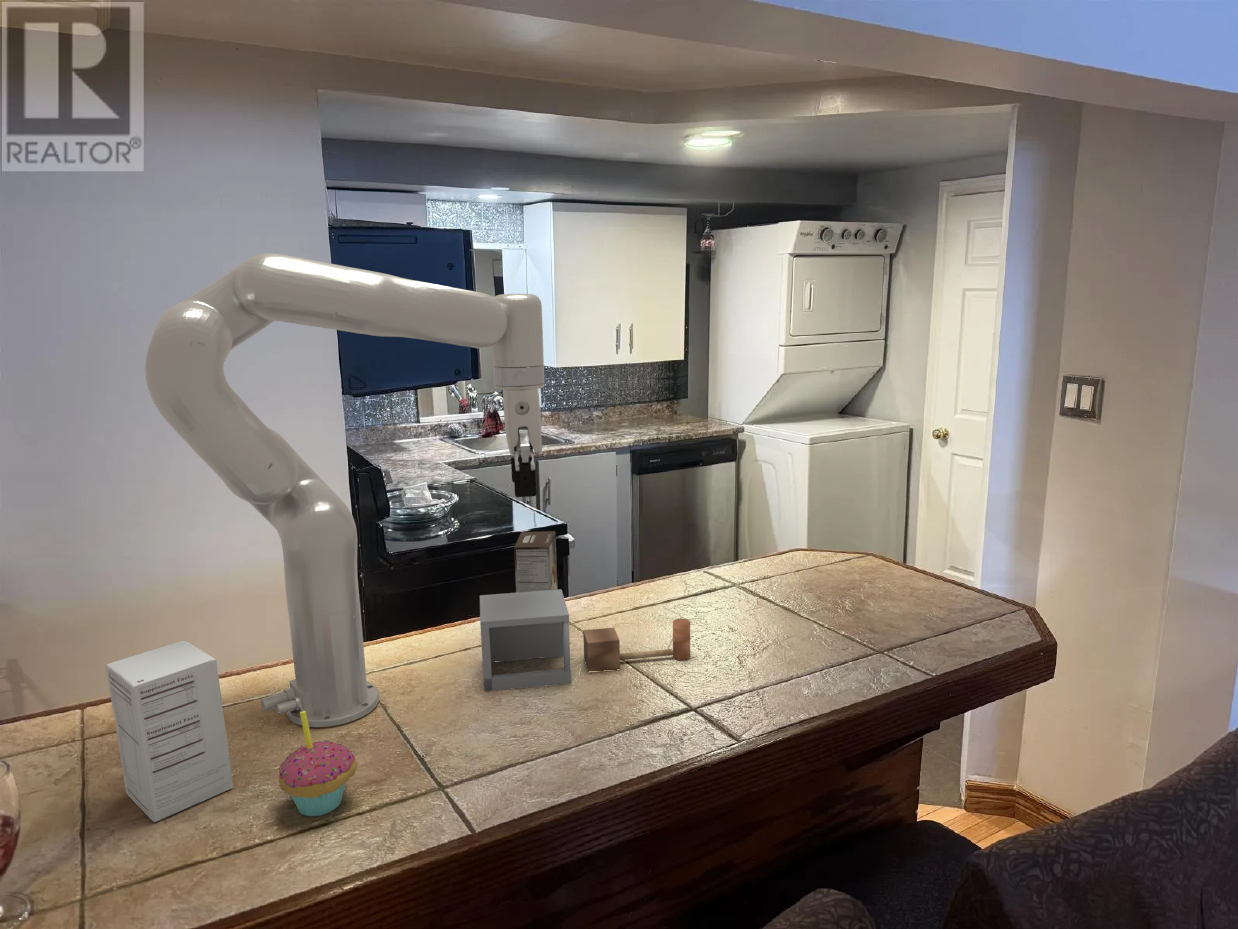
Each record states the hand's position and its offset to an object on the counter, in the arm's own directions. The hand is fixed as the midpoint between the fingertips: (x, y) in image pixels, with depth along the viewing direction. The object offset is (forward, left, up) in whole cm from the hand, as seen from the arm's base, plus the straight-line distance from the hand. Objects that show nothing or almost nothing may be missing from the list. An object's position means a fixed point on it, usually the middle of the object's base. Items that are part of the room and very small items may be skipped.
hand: (523, 488), depth 128 cm
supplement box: (-52, -2, -28) cm, 59 cm away
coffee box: (+9, +11, -28) cm, 32 cm away
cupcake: (-40, -16, -28) cm, 52 cm away
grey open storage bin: (-3, -3, -28) cm, 29 cm away
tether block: (+13, -12, -28) cm, 33 cm away
